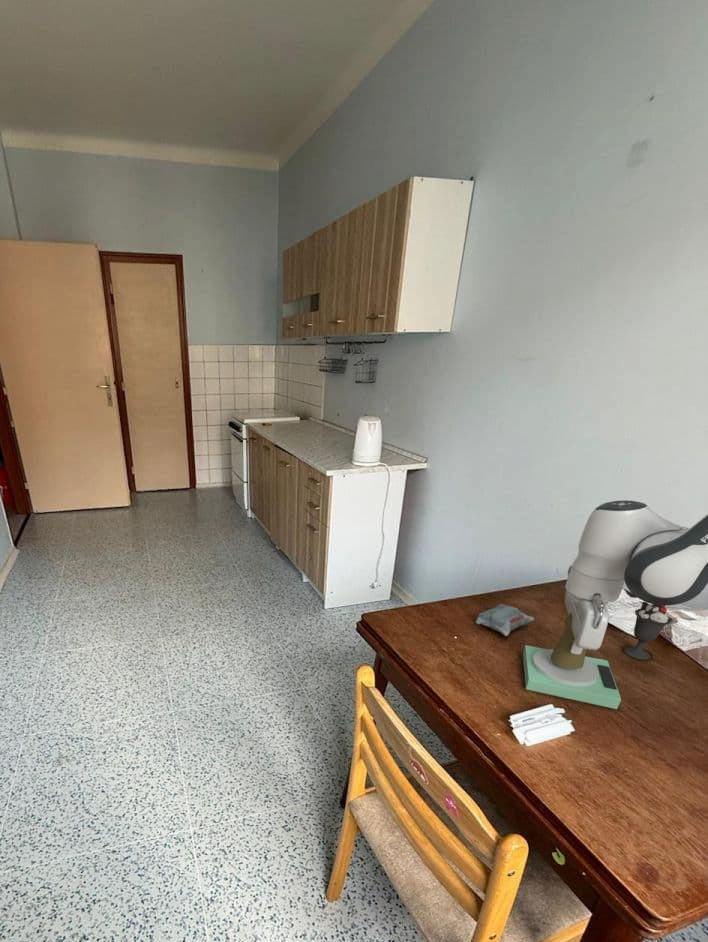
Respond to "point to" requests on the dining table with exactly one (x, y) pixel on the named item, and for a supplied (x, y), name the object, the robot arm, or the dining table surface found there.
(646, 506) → the robot arm
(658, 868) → the dining table surface
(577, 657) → the dark olive tapered piece
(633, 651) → the sundae
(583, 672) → the scale
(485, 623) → the packaged food
